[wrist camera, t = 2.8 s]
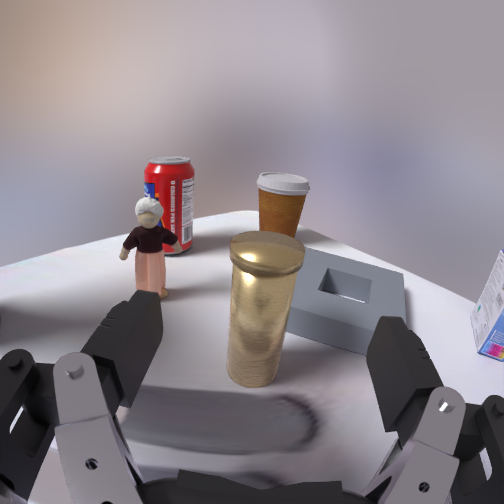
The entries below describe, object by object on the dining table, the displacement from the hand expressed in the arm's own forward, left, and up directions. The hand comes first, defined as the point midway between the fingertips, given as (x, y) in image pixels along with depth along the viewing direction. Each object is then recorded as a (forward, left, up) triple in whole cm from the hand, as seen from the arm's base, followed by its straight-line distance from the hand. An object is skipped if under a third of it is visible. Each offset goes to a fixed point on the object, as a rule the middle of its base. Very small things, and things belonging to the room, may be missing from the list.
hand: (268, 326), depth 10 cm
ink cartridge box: (+26, +28, -15) cm, 41 cm away
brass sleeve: (-4, +11, -15) cm, 19 cm away
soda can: (-27, +28, -15) cm, 42 cm away
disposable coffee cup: (-13, +42, -15) cm, 46 cm away
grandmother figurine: (-20, +16, -15) cm, 30 cm away
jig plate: (+2, +26, -15) cm, 30 cm away
